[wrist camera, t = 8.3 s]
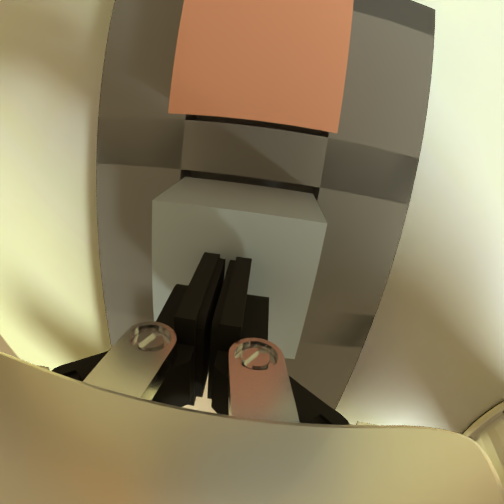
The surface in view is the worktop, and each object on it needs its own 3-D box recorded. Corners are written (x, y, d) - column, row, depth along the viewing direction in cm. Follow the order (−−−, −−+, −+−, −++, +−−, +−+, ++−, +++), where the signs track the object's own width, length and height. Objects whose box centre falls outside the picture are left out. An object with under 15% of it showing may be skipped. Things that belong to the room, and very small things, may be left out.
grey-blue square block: (313, 193, 15) (327, 223, 11) (291, 303, 17) (294, 358, 13) (185, 176, 15) (152, 200, 11) (180, 287, 17) (154, 337, 13)
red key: (334, 17, 12) (354, -15, 8) (320, 129, 14) (337, 133, 10) (211, 3, 12) (190, -31, 8) (196, 114, 14) (167, 113, 10)
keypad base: (413, 22, 13) (435, 9, 10) (323, 398, 24) (326, 426, 22) (141, -9, 13) (121, -26, 11) (133, 370, 25) (121, 395, 22)
